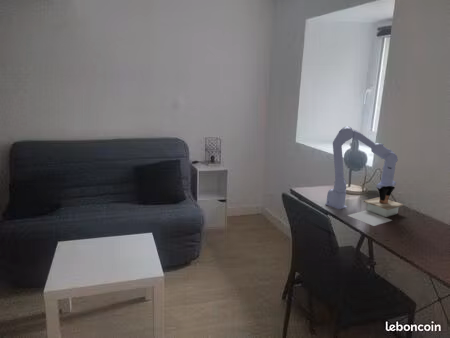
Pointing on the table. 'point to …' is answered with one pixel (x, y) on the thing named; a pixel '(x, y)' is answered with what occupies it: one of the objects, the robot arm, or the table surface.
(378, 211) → the open box
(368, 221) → the mat
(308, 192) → the table surface
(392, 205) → the lid
